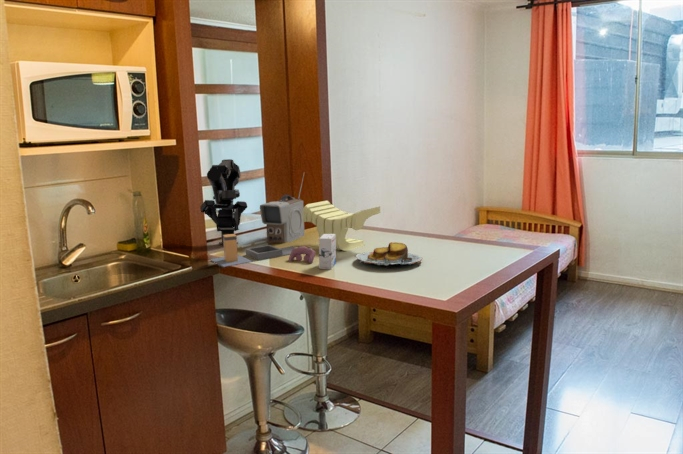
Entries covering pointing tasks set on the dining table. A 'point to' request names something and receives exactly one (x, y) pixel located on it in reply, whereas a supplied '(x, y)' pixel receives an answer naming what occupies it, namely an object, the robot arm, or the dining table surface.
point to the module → (230, 247)
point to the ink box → (327, 251)
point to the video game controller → (302, 250)
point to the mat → (223, 263)
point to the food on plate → (390, 255)
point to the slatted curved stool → (337, 222)
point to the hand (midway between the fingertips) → (228, 225)
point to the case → (268, 252)
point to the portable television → (283, 219)
